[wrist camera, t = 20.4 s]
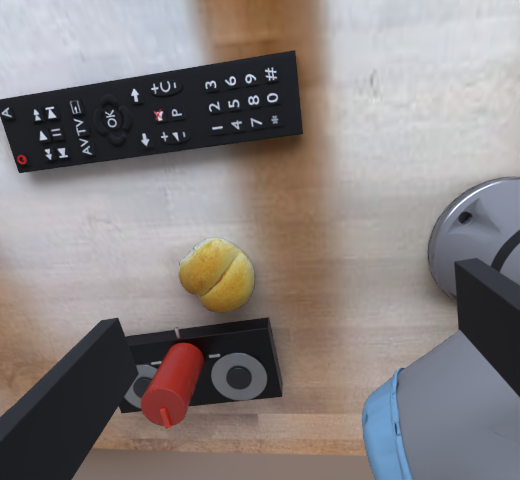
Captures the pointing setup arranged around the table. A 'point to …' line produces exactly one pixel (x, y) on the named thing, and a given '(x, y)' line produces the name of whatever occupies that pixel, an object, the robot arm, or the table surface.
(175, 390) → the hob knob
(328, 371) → the table surface
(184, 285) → the bread roll
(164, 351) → the hob
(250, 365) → the burner rings
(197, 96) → the remote control
